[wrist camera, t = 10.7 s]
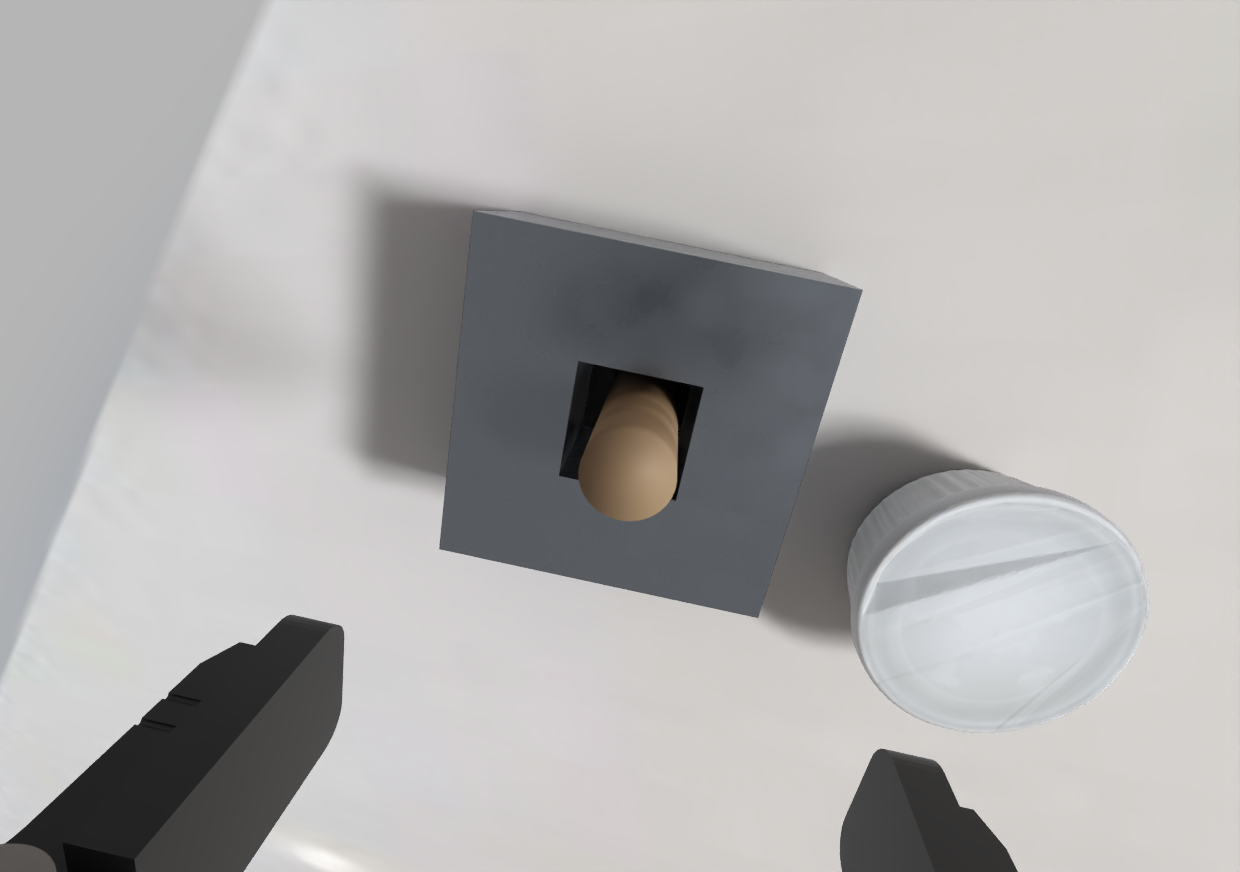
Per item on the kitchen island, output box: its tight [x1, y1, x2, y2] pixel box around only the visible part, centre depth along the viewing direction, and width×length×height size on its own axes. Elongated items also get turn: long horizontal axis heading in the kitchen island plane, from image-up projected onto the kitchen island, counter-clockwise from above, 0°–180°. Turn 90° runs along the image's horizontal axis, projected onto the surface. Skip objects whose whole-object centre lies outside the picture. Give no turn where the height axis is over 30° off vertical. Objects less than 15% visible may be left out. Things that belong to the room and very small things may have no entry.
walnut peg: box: [578, 370, 679, 521], centre depth 24 cm, size 3×3×10 cm
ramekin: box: [847, 469, 1149, 733], centre depth 27 cm, size 11×11×5 cm
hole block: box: [439, 211, 863, 618], centre depth 26 cm, size 13×13×6 cm
